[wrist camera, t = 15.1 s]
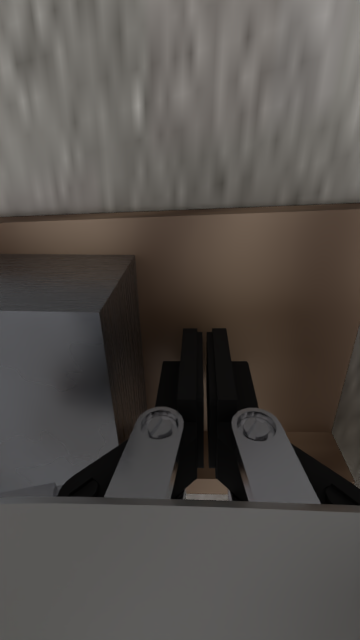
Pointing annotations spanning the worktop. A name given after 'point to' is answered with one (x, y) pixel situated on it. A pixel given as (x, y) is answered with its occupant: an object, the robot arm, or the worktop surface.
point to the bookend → (66, 363)
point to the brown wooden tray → (236, 299)
